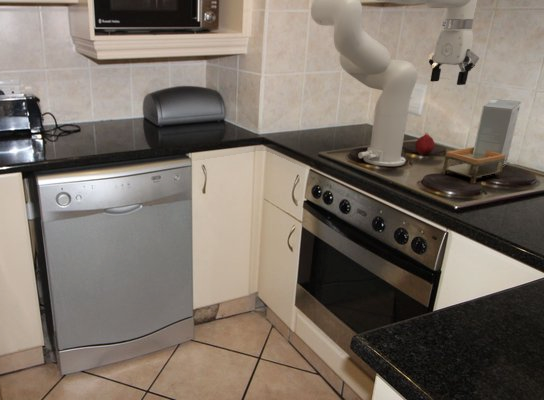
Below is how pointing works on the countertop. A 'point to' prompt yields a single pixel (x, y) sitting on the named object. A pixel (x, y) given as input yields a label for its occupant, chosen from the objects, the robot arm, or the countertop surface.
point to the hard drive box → (496, 128)
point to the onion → (424, 144)
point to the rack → (473, 163)
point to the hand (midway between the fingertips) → (447, 82)
